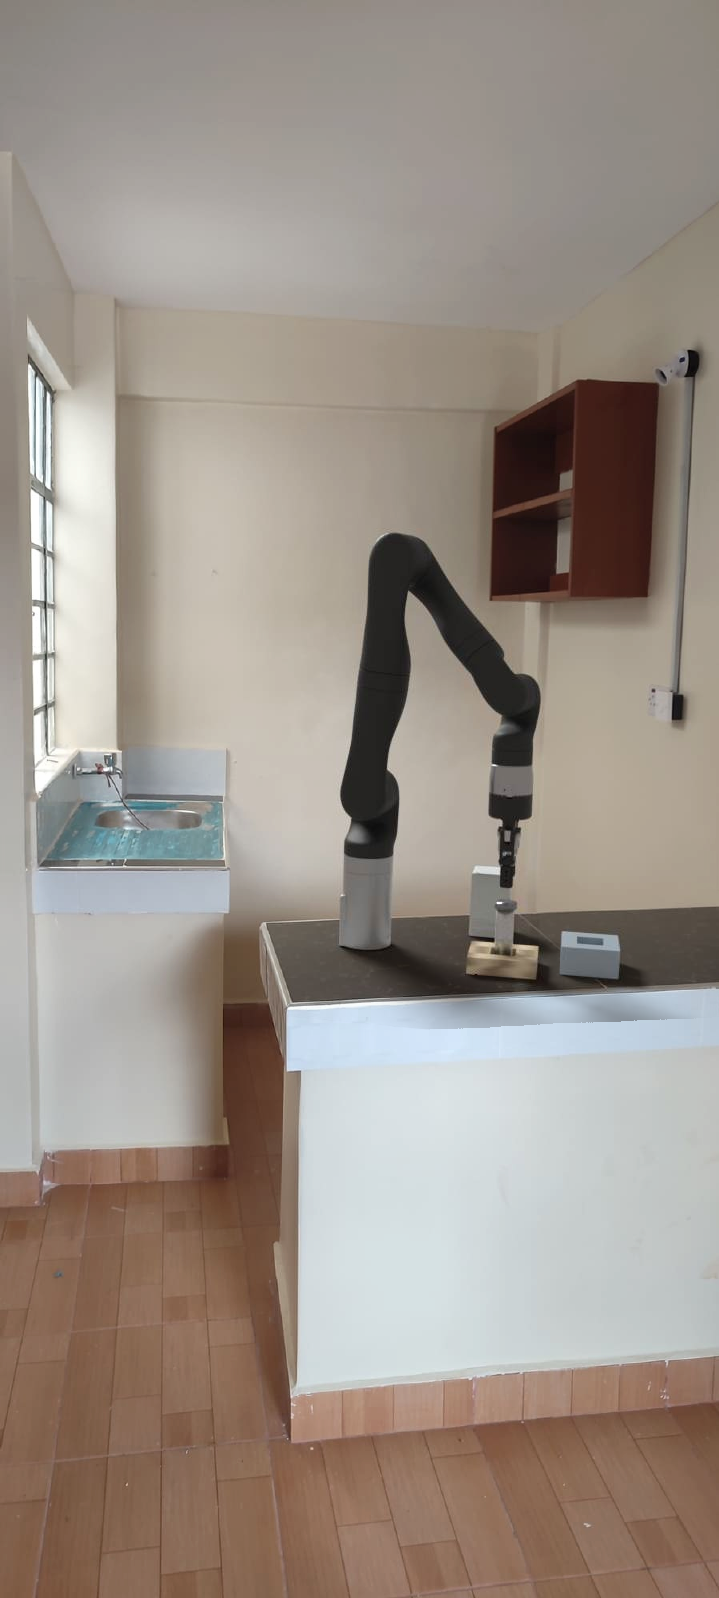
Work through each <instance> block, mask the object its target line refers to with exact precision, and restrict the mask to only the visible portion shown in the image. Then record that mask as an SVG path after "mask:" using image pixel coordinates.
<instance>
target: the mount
mask: <svg viewBox="0 0 719 1598" xmlns="http://www.w3.org/2000/svg"><path fill="white" fill-rule="evenodd" d="M494 946H495V942H491V941H490V942H489V941H475V940H471V941H470V945H469V949H468V952H467V955H466V967H465V968H466V971H465V974H466V975H475V974H477V976H489V977H498V978H501V977H502V978H514V979H526V980H535V981H536V980H537V971H538V965H539V964H538V961H539V960H538V959H539V946H538V945H528V944H527V945H526V944H514V943H513V952H512V956H507V955H494Z"/></svg>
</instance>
